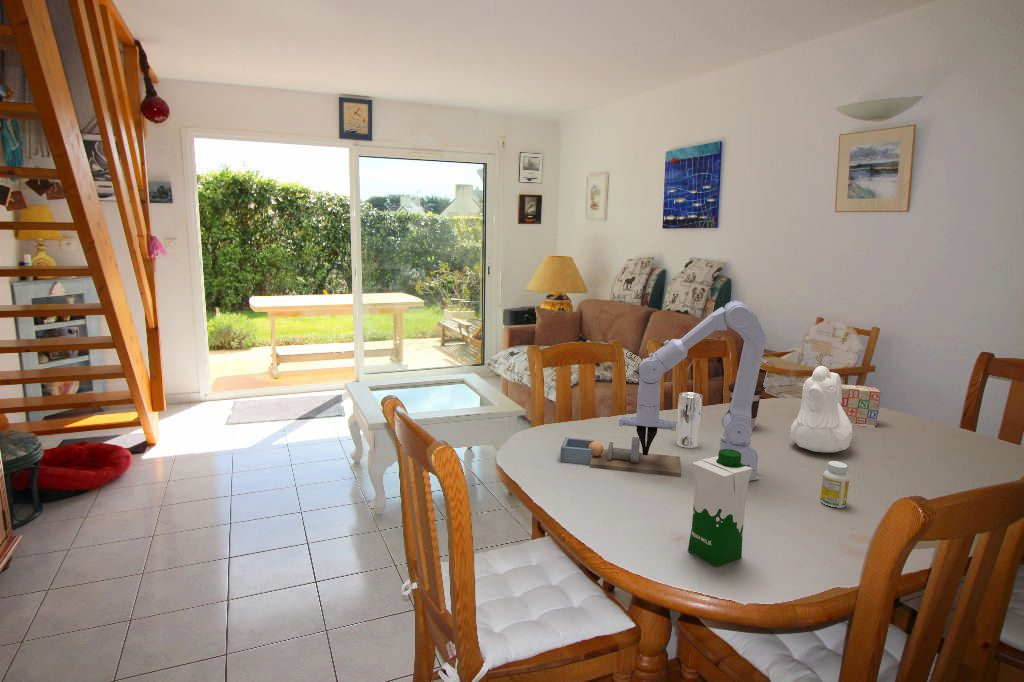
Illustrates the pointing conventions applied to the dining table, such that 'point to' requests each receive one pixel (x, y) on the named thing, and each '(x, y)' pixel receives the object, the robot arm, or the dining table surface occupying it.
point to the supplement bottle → (835, 485)
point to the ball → (596, 448)
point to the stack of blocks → (861, 404)
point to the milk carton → (719, 507)
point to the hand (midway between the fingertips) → (645, 453)
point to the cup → (576, 451)
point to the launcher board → (640, 464)
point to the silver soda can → (689, 418)
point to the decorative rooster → (822, 415)
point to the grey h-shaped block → (625, 451)
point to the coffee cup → (754, 404)
